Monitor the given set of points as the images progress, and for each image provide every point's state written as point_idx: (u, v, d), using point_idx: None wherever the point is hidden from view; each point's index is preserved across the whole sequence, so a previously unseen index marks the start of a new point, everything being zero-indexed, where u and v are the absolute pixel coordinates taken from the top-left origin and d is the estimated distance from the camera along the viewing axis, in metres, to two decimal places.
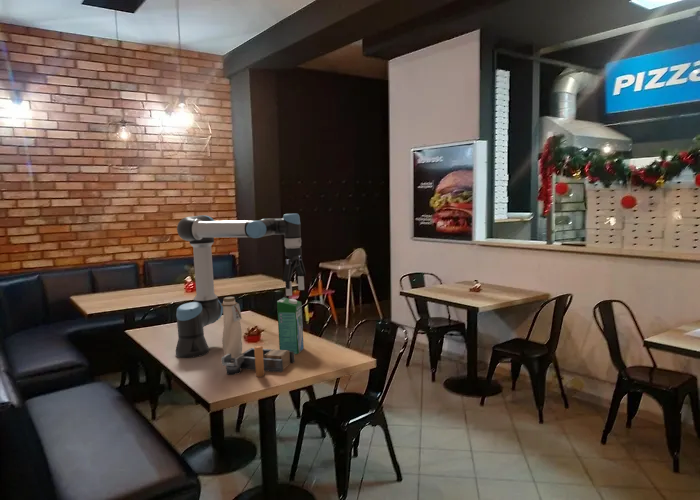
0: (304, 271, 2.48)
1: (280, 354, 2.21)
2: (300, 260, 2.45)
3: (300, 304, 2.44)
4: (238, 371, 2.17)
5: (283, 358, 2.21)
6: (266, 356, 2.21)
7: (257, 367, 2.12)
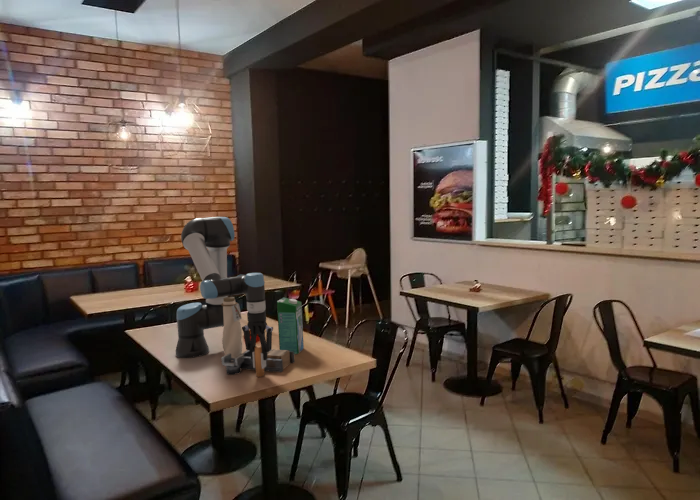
0: (266, 347, 2.10)
1: (280, 354, 2.21)
2: (267, 331, 2.09)
3: (300, 304, 2.44)
4: (238, 371, 2.17)
5: (283, 358, 2.21)
6: None
7: (257, 367, 2.12)
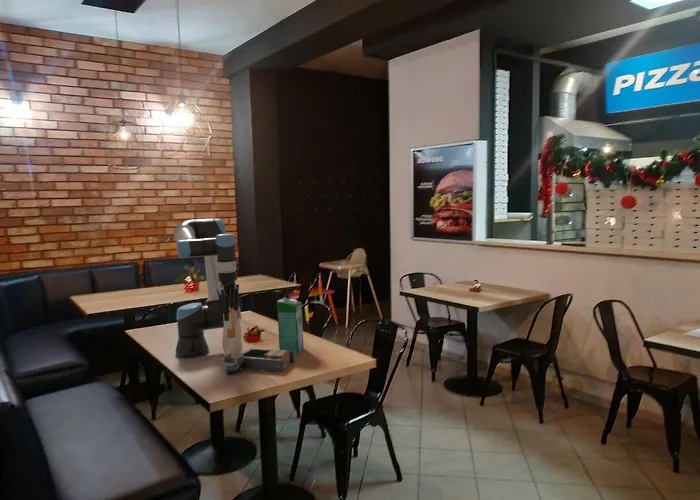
0: (237, 304, 2.20)
1: (280, 354, 2.21)
2: (236, 288, 2.19)
3: (300, 304, 2.44)
4: (238, 371, 2.17)
5: (283, 358, 2.21)
6: (266, 356, 2.21)
7: (234, 328, 2.16)
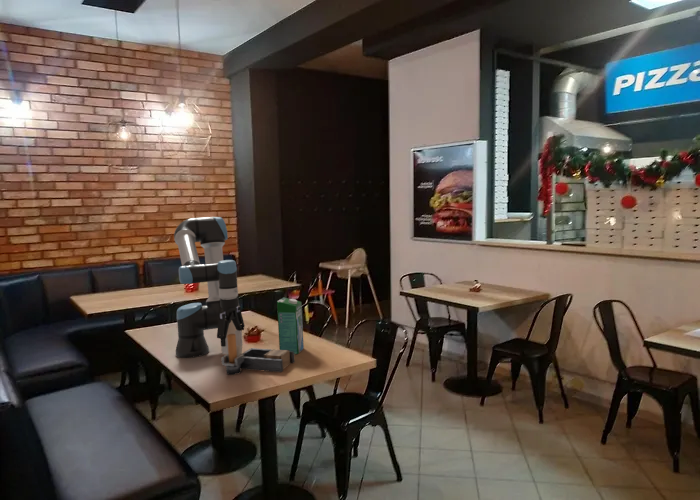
0: (243, 324, 2.24)
1: (280, 354, 2.21)
2: (238, 311, 2.21)
3: (300, 304, 2.44)
4: (238, 371, 2.17)
5: (283, 358, 2.21)
6: (266, 356, 2.21)
7: (235, 354, 2.17)
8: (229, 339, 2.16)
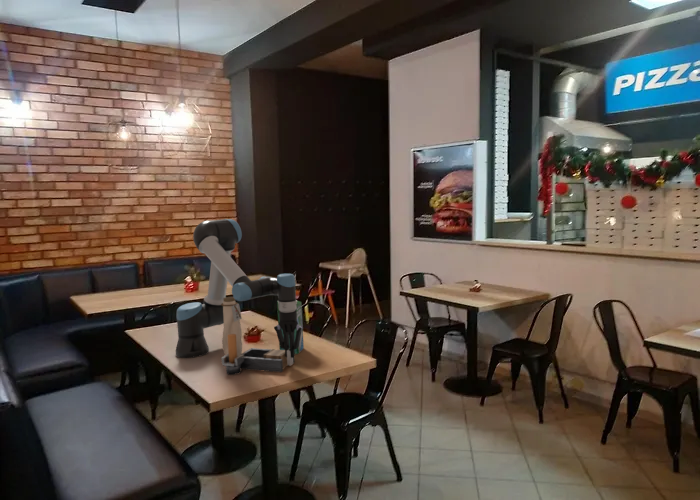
0: (294, 345, 2.19)
1: (280, 354, 2.21)
2: (297, 330, 2.19)
3: (300, 304, 2.44)
4: (238, 371, 2.17)
5: (283, 358, 2.21)
6: (266, 356, 2.21)
7: (236, 354, 2.17)
8: (229, 339, 2.16)
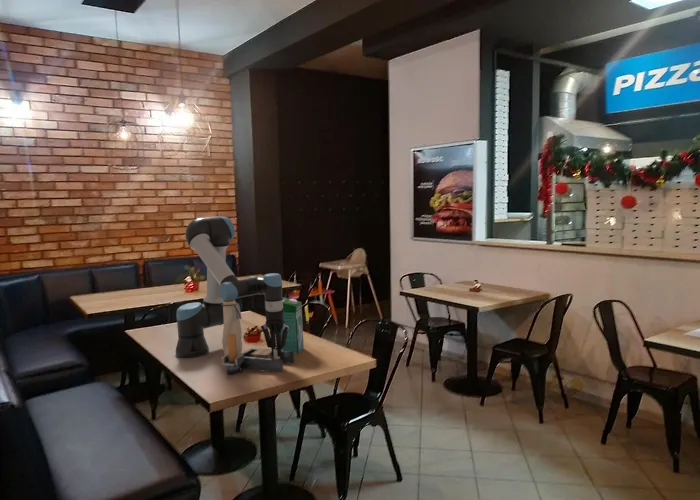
0: (281, 344, 2.21)
1: (266, 353, 2.23)
2: None
3: (300, 304, 2.44)
4: (238, 371, 2.17)
5: (269, 357, 2.23)
6: (252, 355, 2.23)
7: (236, 354, 2.17)
8: (229, 339, 2.16)
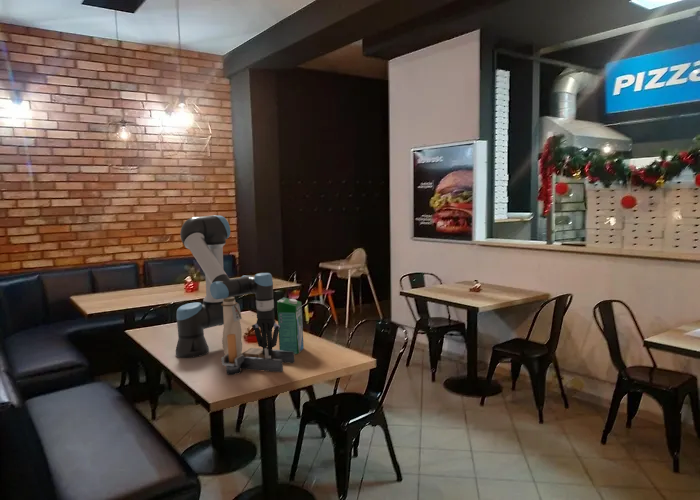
0: (272, 343, 2.23)
1: (258, 352, 2.24)
2: None
3: (300, 304, 2.44)
4: (238, 371, 2.17)
5: (260, 356, 2.24)
6: (244, 354, 2.24)
7: (235, 354, 2.17)
8: (229, 339, 2.16)
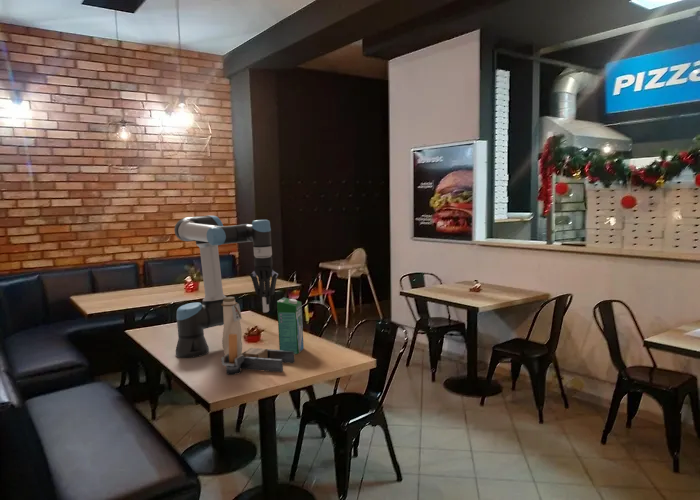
0: (270, 292, 2.18)
1: (258, 352, 2.24)
2: None
3: (300, 304, 2.44)
4: (238, 371, 2.17)
5: (260, 356, 2.24)
6: (244, 354, 2.24)
7: (236, 354, 2.17)
8: (230, 339, 2.16)
